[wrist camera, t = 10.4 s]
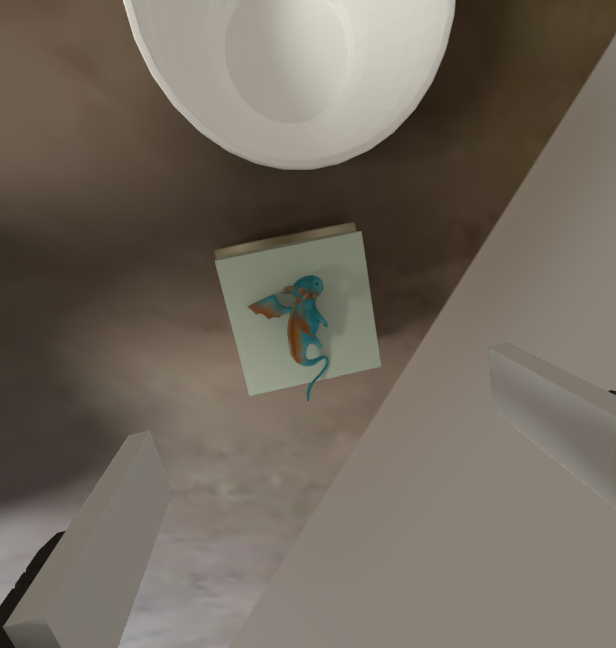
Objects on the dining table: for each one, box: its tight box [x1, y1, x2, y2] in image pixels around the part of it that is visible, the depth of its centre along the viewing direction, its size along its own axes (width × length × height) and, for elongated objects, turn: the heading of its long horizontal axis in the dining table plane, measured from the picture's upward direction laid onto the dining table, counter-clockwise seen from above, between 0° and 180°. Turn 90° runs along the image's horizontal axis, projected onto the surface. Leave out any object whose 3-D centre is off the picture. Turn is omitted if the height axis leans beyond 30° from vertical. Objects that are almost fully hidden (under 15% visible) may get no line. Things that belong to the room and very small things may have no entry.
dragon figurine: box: [247, 275, 329, 401], centre depth 27 cm, size 6×7×8 cm
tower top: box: [215, 231, 381, 396], centre depth 30 cm, size 11×11×4 cm
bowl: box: [123, 0, 456, 170], centre depth 26 cm, size 20×20×10 cm
